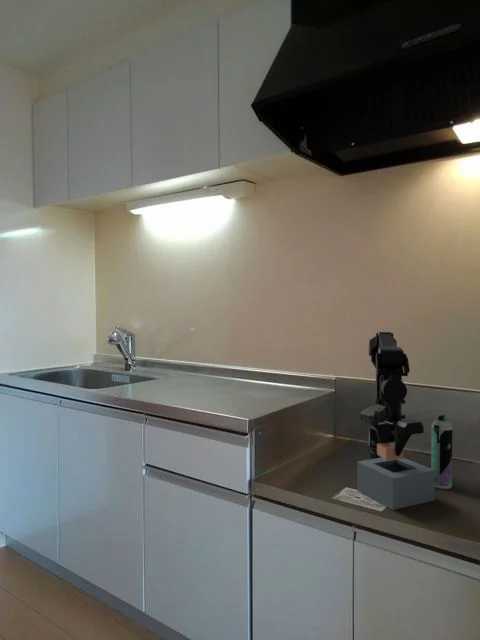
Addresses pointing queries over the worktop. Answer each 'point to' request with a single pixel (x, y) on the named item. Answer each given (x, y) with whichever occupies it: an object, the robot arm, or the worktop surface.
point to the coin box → (396, 482)
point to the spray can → (442, 452)
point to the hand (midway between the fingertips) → (390, 452)
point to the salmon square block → (388, 451)
